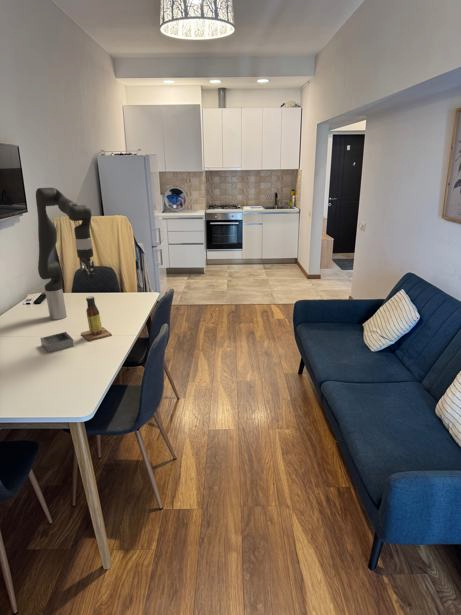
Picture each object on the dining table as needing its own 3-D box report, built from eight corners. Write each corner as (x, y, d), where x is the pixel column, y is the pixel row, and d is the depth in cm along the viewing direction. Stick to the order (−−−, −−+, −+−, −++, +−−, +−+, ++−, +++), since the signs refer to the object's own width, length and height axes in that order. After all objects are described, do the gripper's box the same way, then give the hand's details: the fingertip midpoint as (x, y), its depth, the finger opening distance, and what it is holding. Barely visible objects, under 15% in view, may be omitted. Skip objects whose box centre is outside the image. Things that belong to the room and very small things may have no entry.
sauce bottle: (104, 331, 218) (100, 295, 212) (97, 336, 213) (92, 299, 206) (94, 330, 220) (89, 294, 214) (87, 334, 215) (81, 298, 208)
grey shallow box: (41, 345, 206) (40, 338, 204) (67, 338, 213) (65, 331, 211) (47, 353, 197) (46, 345, 196) (73, 346, 204) (72, 338, 203)
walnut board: (81, 334, 218) (81, 332, 218) (103, 328, 225) (103, 327, 224) (89, 341, 209) (88, 339, 209) (111, 335, 216) (111, 333, 215)
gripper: (72, 246, 204) (76, 277, 210) (81, 250, 194) (86, 283, 199) (87, 244, 209) (91, 275, 214) (97, 248, 198) (101, 281, 203)
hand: (88, 279), depth 207 cm, fingers open, 8 cm apart
